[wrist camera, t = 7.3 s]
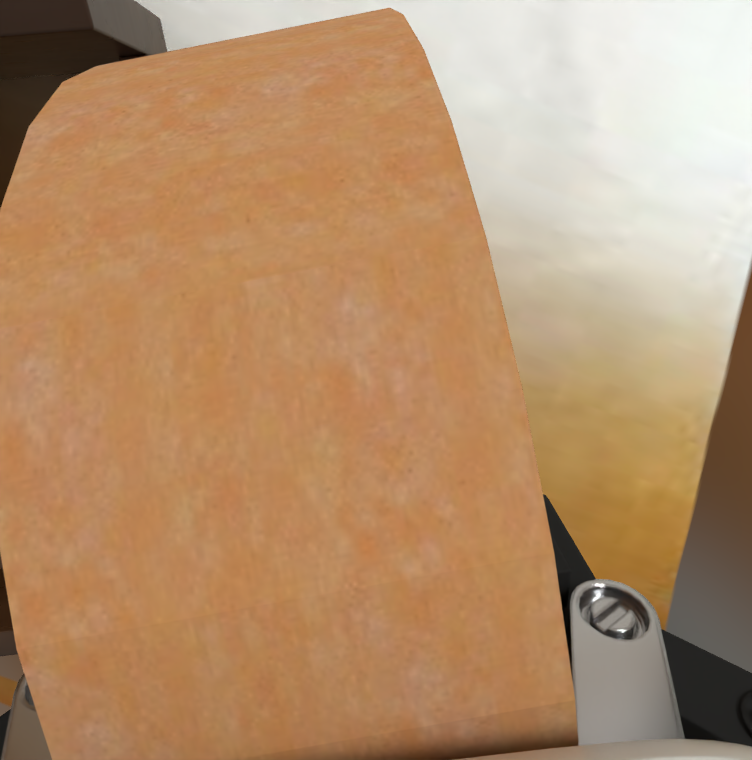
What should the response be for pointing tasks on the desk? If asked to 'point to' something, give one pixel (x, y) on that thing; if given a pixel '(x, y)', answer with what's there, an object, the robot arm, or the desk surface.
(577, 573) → the robot arm
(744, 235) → the desk surface
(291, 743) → the arch
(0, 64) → the rack
